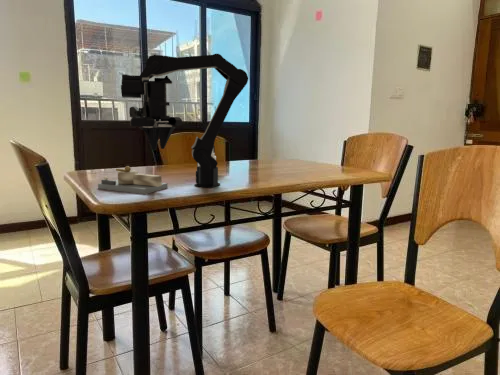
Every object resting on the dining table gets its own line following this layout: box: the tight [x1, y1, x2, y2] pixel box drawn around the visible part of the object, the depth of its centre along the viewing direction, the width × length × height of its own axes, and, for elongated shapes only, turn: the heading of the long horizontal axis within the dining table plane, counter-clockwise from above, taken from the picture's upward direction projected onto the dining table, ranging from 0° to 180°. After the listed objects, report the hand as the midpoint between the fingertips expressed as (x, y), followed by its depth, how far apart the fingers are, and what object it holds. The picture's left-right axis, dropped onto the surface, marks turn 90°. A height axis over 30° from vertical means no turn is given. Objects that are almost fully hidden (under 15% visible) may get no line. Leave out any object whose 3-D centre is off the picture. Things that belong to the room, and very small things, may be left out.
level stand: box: [97, 175, 169, 195], centre depth 119 cm, size 18×11×4 cm, turn 66°
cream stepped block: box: [115, 165, 163, 187], centre depth 116 cm, size 16×6×5 cm, turn 66°
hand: (158, 149), depth 120 cm, fingers open, 4 cm apart
